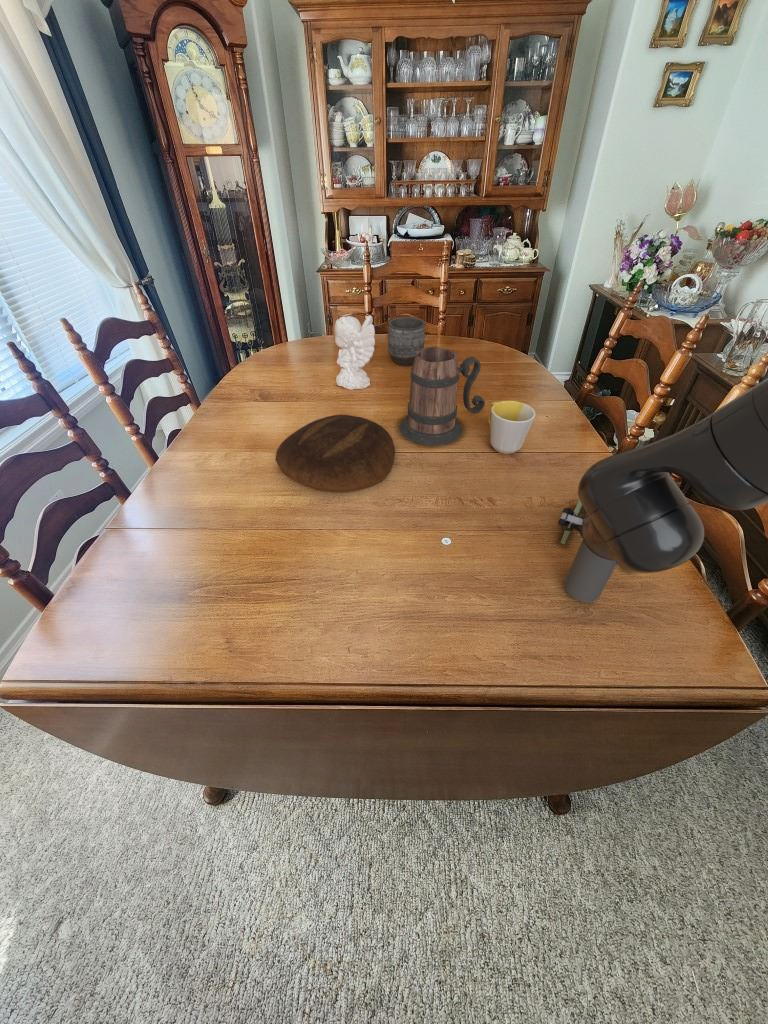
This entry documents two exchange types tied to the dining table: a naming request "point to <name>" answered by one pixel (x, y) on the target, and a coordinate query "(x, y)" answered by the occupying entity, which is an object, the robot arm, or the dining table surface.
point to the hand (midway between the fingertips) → (605, 538)
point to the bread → (337, 454)
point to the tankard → (438, 396)
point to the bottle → (588, 575)
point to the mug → (509, 425)
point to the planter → (405, 339)
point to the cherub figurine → (354, 351)
